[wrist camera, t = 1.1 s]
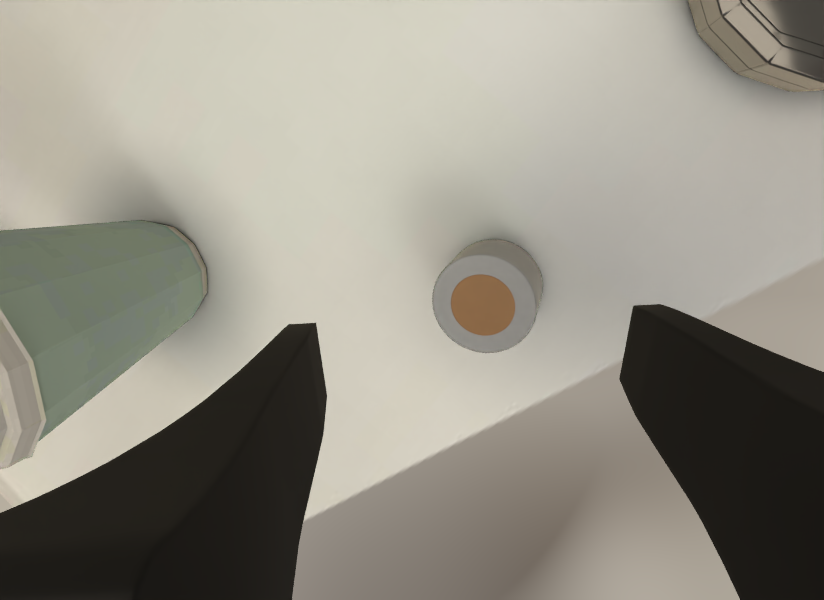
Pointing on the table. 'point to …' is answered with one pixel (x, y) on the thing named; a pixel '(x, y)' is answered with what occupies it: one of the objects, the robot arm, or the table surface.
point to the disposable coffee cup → (83, 316)
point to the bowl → (766, 39)
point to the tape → (488, 296)
